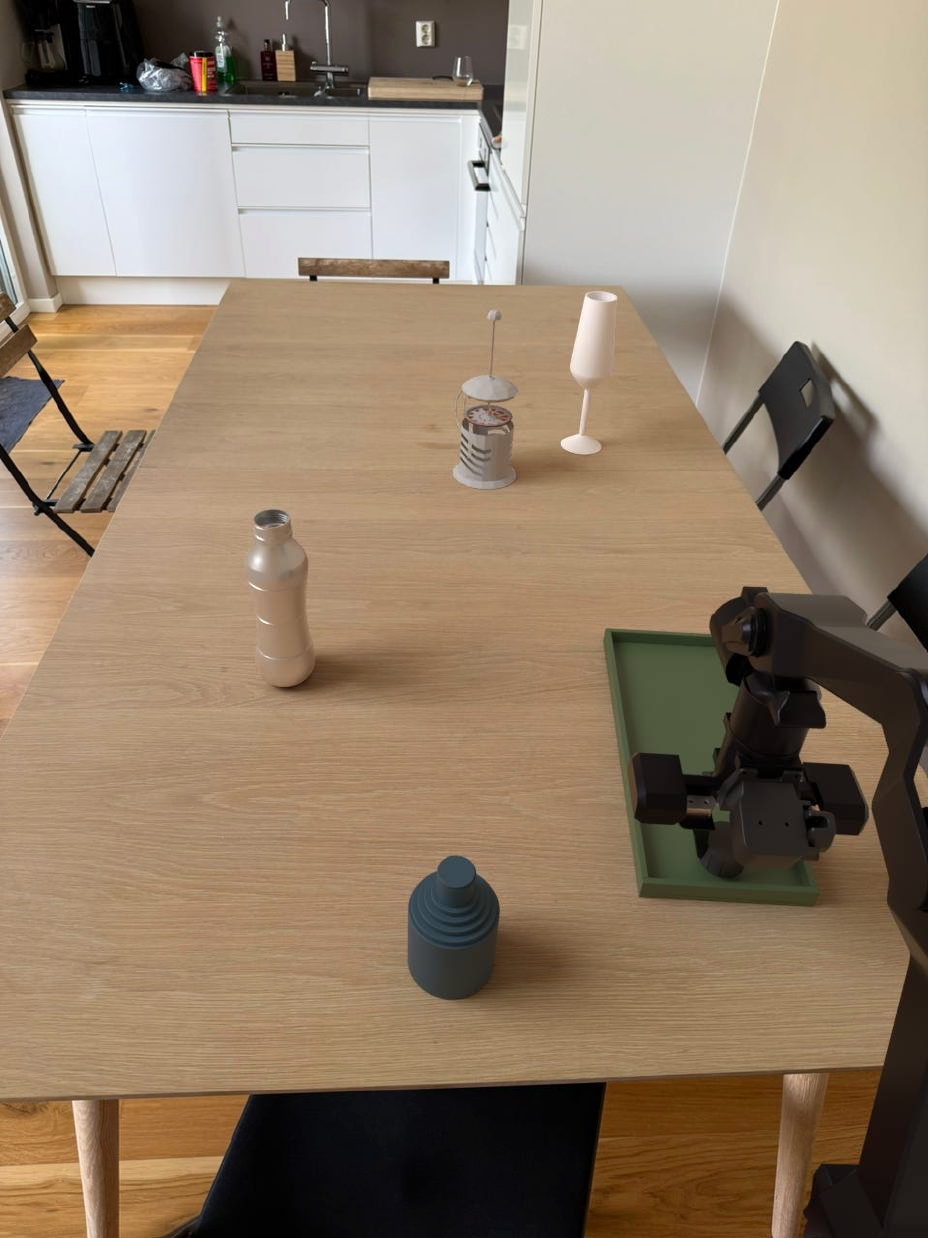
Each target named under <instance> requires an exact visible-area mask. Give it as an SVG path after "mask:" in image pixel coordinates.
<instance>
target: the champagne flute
mask: <svg viewBox="0 0 928 1238" xmlns="http://www.w3.org/2000/svg"><path fill="white" fill-rule="evenodd" d="M617 312H618V295H616V294H614V293H612V292H609V291H603V290H602V291H600V290H595V291H594V290H593V291H588V292H586V293H585V294H584V298H583V303H582V307H581V313H580V318H579V322H578V326H577V331H576V336H575V340H574V345H573V348H572V349H573V350H572V354H571V359H570V364H569V371H570V374H571V375H572V378H573V379H574V381H576V382H577V383H578V384H579V386H580V387H581V388H583V389H584V392H583V393H584V395H583V401H582V408H581V415H580V422H579V423H580V424H579V429H578V430H579V431H578V433H576V434H572V435H569V436H567V437H565V438H563V439H562V440H561V441H560V445H561V447H562V449H563V450H565V451H567V452H569V453H572V454H575V455H582V456H583V455H584V456H585V455H587V456H588V455H594V454H596V453H598V452H600V451H601V450H602V444H601V443H600V442H599V441H598V440H596V439H595V438H593V437H591V436H590V435H588V434H587V432H588V423H589V418H590V411H591V402H592V396H593V390H596V389H597V388H599V387H600V386H602V385H603V384H605V383H606V382H607V381H608V380H609V379H610V378H611V376H612V375H613V373H614V368H615V349H616V334H617V333H616V331H617Z"/></svg>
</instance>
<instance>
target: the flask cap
mask: <svg viewBox="0 0 928 1238" xmlns="http://www.w3.org/2000/svg"><path fill="white" fill-rule="evenodd" d="M714 825H715V829H716V830H715V831H710V833H709V838H708V842H707V847H706V851H705V853H704V855H703V857H702V858H699V861H700V863H701V864H702V866H703V867H704V868H705V869H706V870H707V871H708V872H710V873H711V874H713V875H715V876H718V877H722V878H731V877H735V876H737V875H739V874H741V872H742V871H743V869H744V866H743V865H741V864H739V863H738V862H737V861H736V860H735V859H734V856H733V853H732V837H731V828H730V822H727V821H717V822H714Z"/></svg>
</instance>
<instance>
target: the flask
mask: <svg viewBox="0 0 928 1238" xmlns="http://www.w3.org/2000/svg"><path fill="white" fill-rule="evenodd" d="M499 901H500V900H499V899H498V896H497V893H496V892H495V890H494V889H493V887H492V886H491V885H490V884H489V883H488V881H487V880H486V879H485V878H483V877H482V876H481V875H479V874H478V873H477V868H476V866H475V864H474V863H473V862H472V861H471V860H470V859H469V858H467V857H465V856H462V855H455V854H454V855H449V856H447V857H444V858H443V859H442V860H441V861H440V862H439V864H438V865H437V869H436V870H435V871H433V872H431V873H430V874H428V875H426V876H425V877H424V878H423V879H421V881H419V882H418V883H417V885H416V886H415V887H414V889H413V890H412V892H411V894H410V896H409V898H408V904H407V966H408V970H409V974H410V975H411V977H412V979H413V981H414V982H415V983H416V984H417V985H418V986H419V988H420V989H422V990H423V991H424V992H426V993H428V994H429V995H431V996H434V997H436V998H439V999H443V1000H444V999H445V1000H458V999H459V1000H460V999H463V998H467V997H469V996H472V995H473V994H475V993H477V992H479V991H480V990H481V989H482V988H484V986H485V985H486V984H487V983H488V981H489V979H490V978H491V976H492V973H493V970H494V967H495V959H496V958H495V957H496V949H497V942H498V934H499V933H498V932H499V923H500V917H501V916H500V913H501V907H500V902H499Z"/></svg>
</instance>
